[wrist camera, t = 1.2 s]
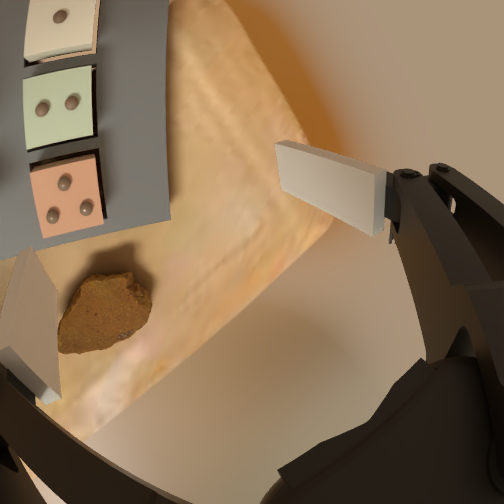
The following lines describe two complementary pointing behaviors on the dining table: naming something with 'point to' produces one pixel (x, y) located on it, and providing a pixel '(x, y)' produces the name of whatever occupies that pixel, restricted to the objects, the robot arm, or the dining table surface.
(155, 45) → the button board
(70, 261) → the dining table surface
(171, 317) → the dining table surface
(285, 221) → the dining table surface
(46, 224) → the tile three
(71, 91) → the tile two
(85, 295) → the artifact
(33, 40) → the tile one
